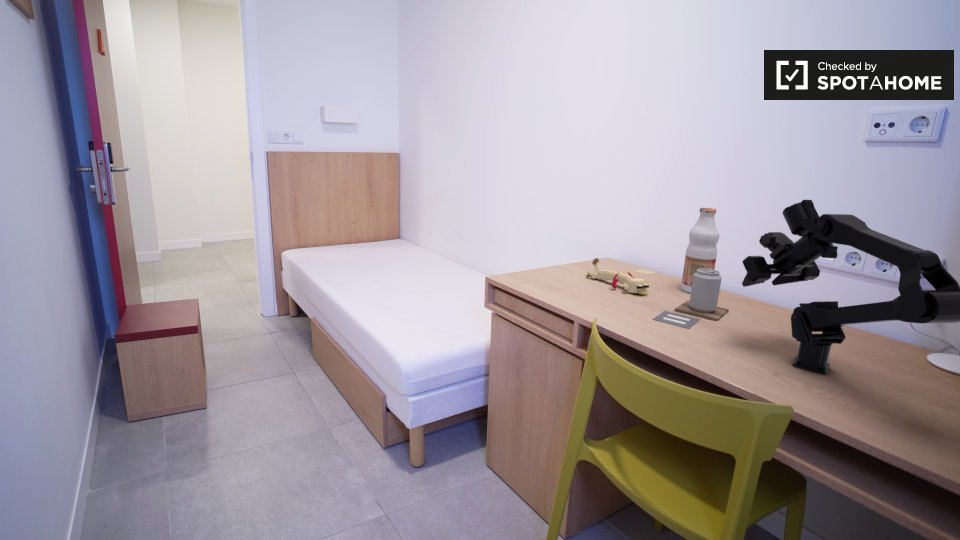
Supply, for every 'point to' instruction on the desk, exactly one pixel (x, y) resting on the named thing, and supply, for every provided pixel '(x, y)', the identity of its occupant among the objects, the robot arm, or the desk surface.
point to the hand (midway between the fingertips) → (758, 284)
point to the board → (688, 309)
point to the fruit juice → (700, 247)
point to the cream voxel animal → (619, 279)
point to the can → (705, 290)
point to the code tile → (676, 319)
